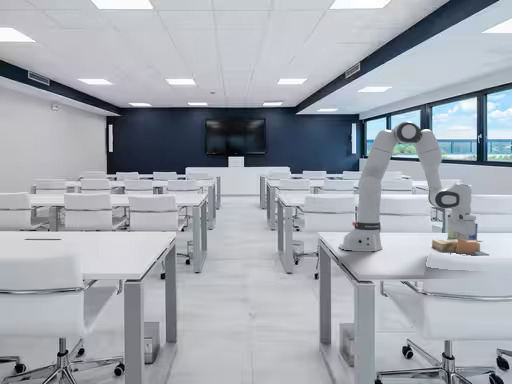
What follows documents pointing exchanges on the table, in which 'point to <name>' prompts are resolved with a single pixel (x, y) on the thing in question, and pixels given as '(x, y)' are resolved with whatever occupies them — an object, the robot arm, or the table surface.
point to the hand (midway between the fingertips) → (460, 241)
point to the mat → (469, 253)
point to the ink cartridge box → (473, 237)
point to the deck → (448, 245)
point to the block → (466, 246)
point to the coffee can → (451, 233)
